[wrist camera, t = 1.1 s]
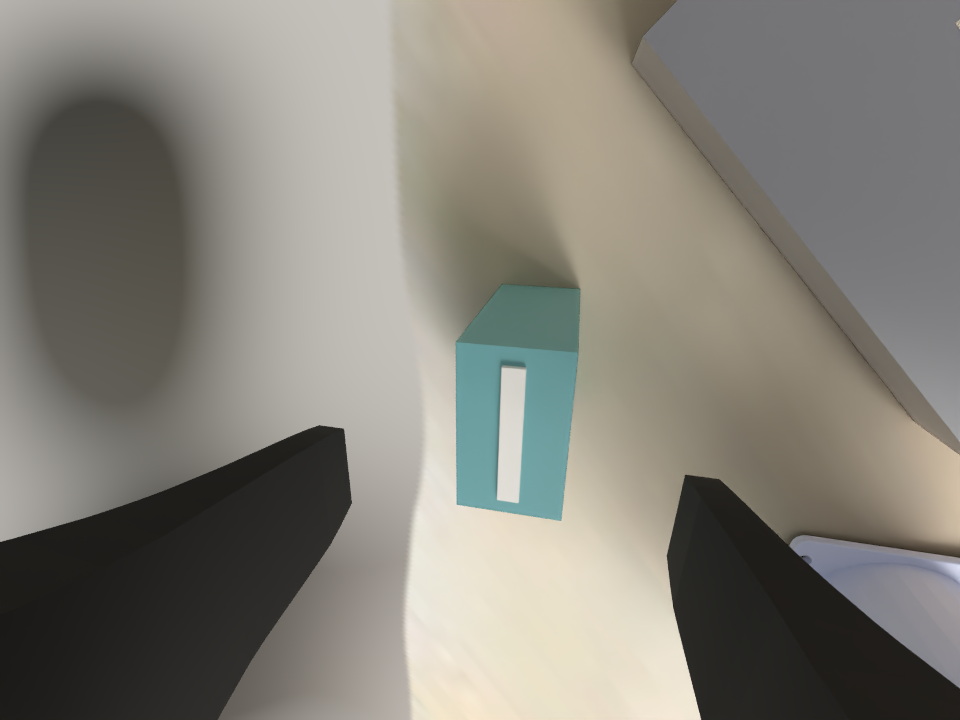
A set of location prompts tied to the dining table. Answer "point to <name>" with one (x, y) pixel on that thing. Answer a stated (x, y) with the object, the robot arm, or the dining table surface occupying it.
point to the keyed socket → (839, 162)
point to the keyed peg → (517, 400)
